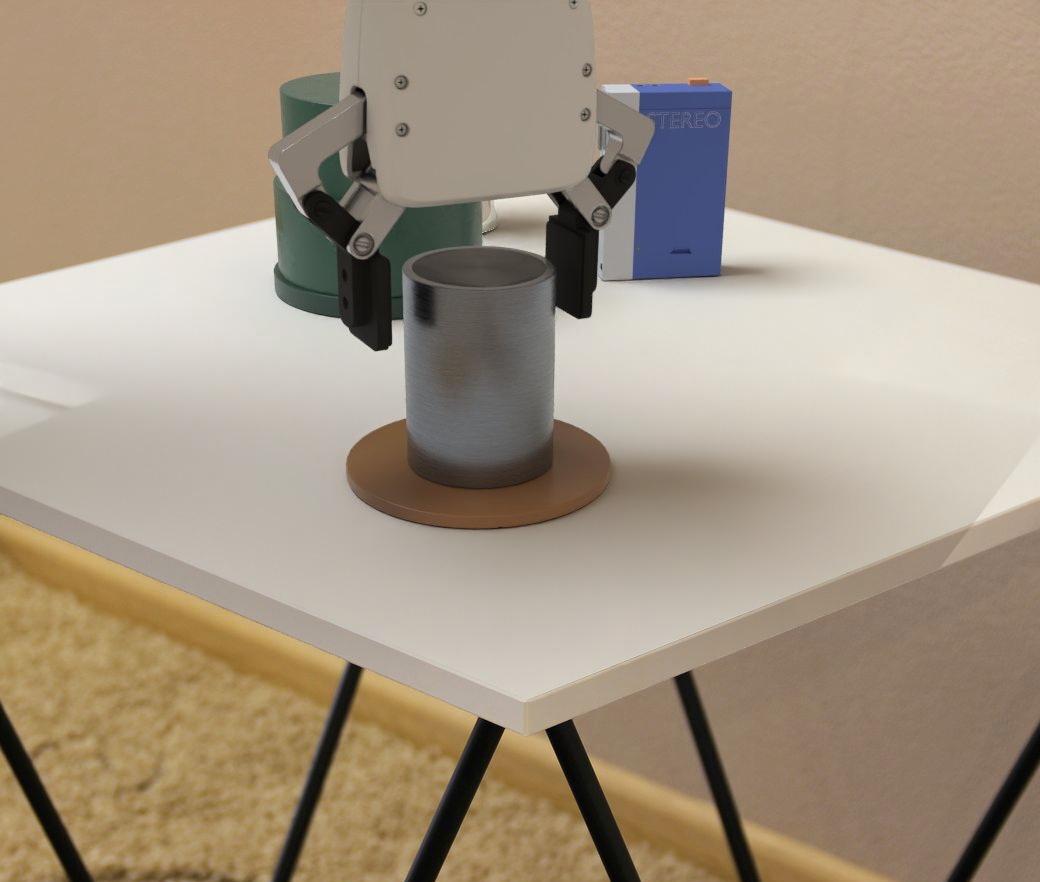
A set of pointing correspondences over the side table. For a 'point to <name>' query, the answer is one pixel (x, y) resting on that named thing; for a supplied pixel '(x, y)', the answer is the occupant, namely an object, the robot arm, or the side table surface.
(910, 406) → the side table surface
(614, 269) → the walkman
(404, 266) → the steel cup
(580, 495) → the cork coaster
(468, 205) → the green tiered cylinder
